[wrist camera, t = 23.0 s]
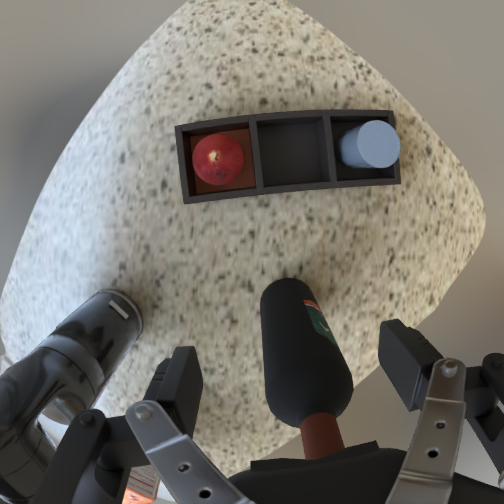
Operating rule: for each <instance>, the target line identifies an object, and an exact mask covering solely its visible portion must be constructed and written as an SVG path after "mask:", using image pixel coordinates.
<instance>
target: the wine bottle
mask: <svg viewBox="0 0 504 504" xmlns="http://www.w3.org/2000/svg"><path fill="white" fill-rule="evenodd" d="M260 312H261V329H262V345H263V361H264V378H265V395H266V399H267V402H268V405H269V408H270V411H271V412H272V413H273V414H274V415H275V416H276V417H277V418H278V419H279V420H281V421H282V422H284V423H286V424H288V425H290V426H292V427H296V428H300V430H301V436H302V441H303V447H304V453H305V459H307V460H316V459H320V458H322V457H325V456H327V455H330V454H332V453H335V452H337V451H340V450H342V449H344V448H345V447H344V444H343V440H342V437H341V434H340V431H339V427H338V424H337V421H336V418H337V417H338V416H340V415H341V414H342V413H343V411H344V410H345V409H346V407H347V406H348V404H349V402H350V400H351V397H352V394H353V390H354V389H353V380H352V374H351V372H350V370H349V368H348V366H347V364H346V361H345V359H344V357H343V355H342V353H341V351H340V349H339V347H338V345H337V342H336V340H335V338H334V336H333V334H332V332H331V330H330V328H329V326H328V324H327V322H326V320H325V318H324V315H323V313H322V311H321V309H320V307H319V305H318V303H317V301H316V299H315V297H314V295H313V293H312V291H311V290H310V288H309V287H308V286H307V285H306V284H305V283H304V282H302V281H300V280H297V279H294V278H284V279H280V280H277V281H275V282H273V283H272V284H270V285H269V286H268V287H267V288H266V289H265V290H264V292H263V294H262V297H261V301H260Z"/></svg>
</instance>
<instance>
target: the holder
mask: <svg viewBox="0 0 504 504" xmlns="http://www.w3.org/2000/svg"><path fill="white" fill-rule="evenodd" d="M373 120H380V121H383V122H386V123H388V124H389V125H390V126H391V127H393V129H394V130H395V131H396V127H395V120H394V113H393V111H389V110H388V111H387V110H349V109H347V110H305V111H287V112H274V113H263V114H256V115H255V114H253V115H244V116H236V117H228V118H220V119H213V120H207V121H201V122H194V123H189V124H183V125H178V126H175V136H176V146H177V155H178V163H179V171H180V179H181V187H182V195H183V202H184V204H190V203H191V204H192V203H199V202H206V201H214V200H222V199H230V198H238V197H247V196H255V195H264V194H274V193H284V192H295V191H306V190H317V189H330V188H344V187H359V186H376V185H395V184H401V176H400V164H399V157H398V159H397V160H396V161H395V163H393V164H392V165H391V166H389V167H386V168H365V169H350V168H347V167H345V166H343V165H342V164H341V163H340V162H339V161H338V160H337V158H336V156H335V153H334V144H335V141H336V139H337V138H338V136H339V135H341V134H342V133H344V132H346V131H348V130H351V129H353V128H355V127H358V126H360V125H362V124H365V123H367V122H369V121H373ZM213 134H225V135H229V136H232V137H233V138H234V139H236V140H237V141H238V142H239V143H240V145H241V147H242V149H243V151H244V159H245V161H244V165H243V168H242V171H241V172H240V174H239V175H238V176H237V178H236V179H234V180H233V181H231V182H229V183H227V184H223V185H213V184H210V183H207V182H205V181H204V180H202V179H201V178H200V177H199V176H198V175H197V174H196V171H195V169H194V167H193V160H192V156H193V153H194V149H195V147H196V146H197V144H198V143H199V142H200V141H201V140H202V139H204V138H206V137H207V136H209V135H213Z"/></svg>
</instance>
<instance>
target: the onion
mask: <svg viewBox="0 0 504 504" xmlns="http://www.w3.org/2000/svg"><path fill="white" fill-rule="evenodd" d="M192 160H193V167H194V169H195V171H196V174H197V175H198V176H199V177H200V178H201V179H202V180H204V181H205V182H207V183H210V184H213V185H223V184H227V183H229V182H231V181H233V180H234V179H236V178H237V176H238V175H239V174H240V172H241V171H242V168H243V165H244V161H245V159H244V151H243V149H242V147H241V145H240V143H239V142H238V141H237V140H236V139H234V138H233V137H232V136H229V135H225V134H213V135H209V136H207V137H206V138H204V139H202V140H201V141H200V142H199V143H198V144H197V146H196V147H195V149H194V153H193V156H192Z"/></svg>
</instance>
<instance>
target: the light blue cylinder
mask: <svg viewBox="0 0 504 504" xmlns="http://www.w3.org/2000/svg"><path fill="white" fill-rule="evenodd" d="M400 148H401V146H400V140H399V137H398V134H397V133H396V131H395V130H394V129H393V127H391V126H390V125H389V124H388V123H386V122H383V121H380V120H373V121H369V122H367V123H365V124H362V125H360V126H358V127H355V128H353V129H351V130H348V131H346V132H344V133H342V134H341V135H339V136H338V138H337V139H336V141H335V144H334V153H335V156H336V158H337V160H338V161H339V162H340V163H341V164H342V165H343V166H345V167H347V168H350V169H365V168H386V167H389V166H391V165H392V164H393V163H395V161H396V160H397V159H398V157H399V154H400Z"/></svg>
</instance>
